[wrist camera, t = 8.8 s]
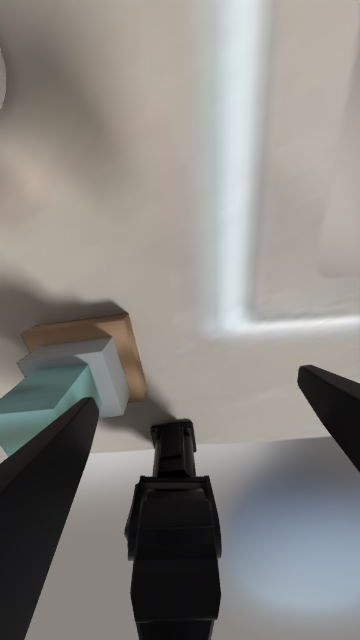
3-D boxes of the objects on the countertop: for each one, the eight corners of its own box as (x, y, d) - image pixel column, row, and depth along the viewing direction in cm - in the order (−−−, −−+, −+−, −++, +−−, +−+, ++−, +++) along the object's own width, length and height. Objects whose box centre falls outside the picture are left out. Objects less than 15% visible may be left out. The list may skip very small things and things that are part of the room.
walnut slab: (147, 383, 25) (144, 400, 22) (72, 393, 25) (59, 411, 22) (130, 311, 21) (123, 320, 18) (40, 323, 21) (20, 334, 18)
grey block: (130, 394, 21) (123, 415, 19) (66, 402, 22) (50, 424, 19) (112, 336, 19) (101, 351, 16) (40, 346, 19) (16, 362, 16)
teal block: (102, 404, 18) (77, 456, 13) (54, 408, 18) (13, 463, 13) (88, 364, 16) (53, 408, 12) (35, 369, 16) (-21, 416, 12)
